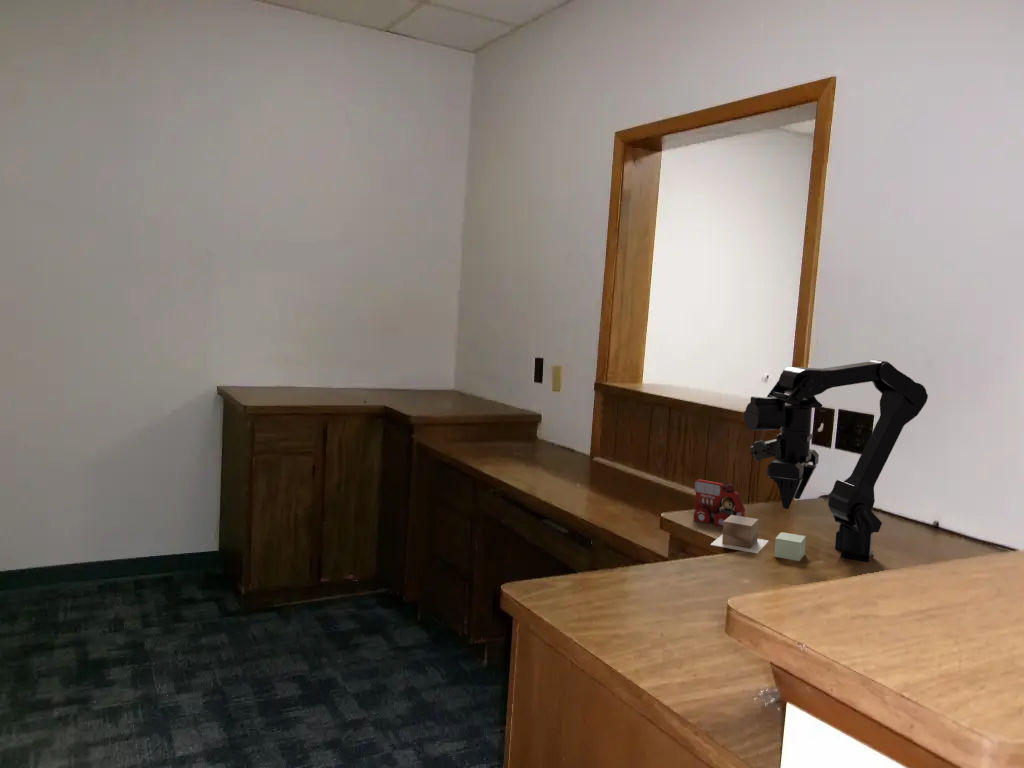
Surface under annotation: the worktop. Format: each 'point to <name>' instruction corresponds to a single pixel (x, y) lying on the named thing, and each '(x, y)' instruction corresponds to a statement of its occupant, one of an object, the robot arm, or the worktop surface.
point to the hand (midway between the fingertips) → (791, 503)
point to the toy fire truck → (716, 502)
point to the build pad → (754, 549)
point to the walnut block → (740, 531)
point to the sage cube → (790, 546)
